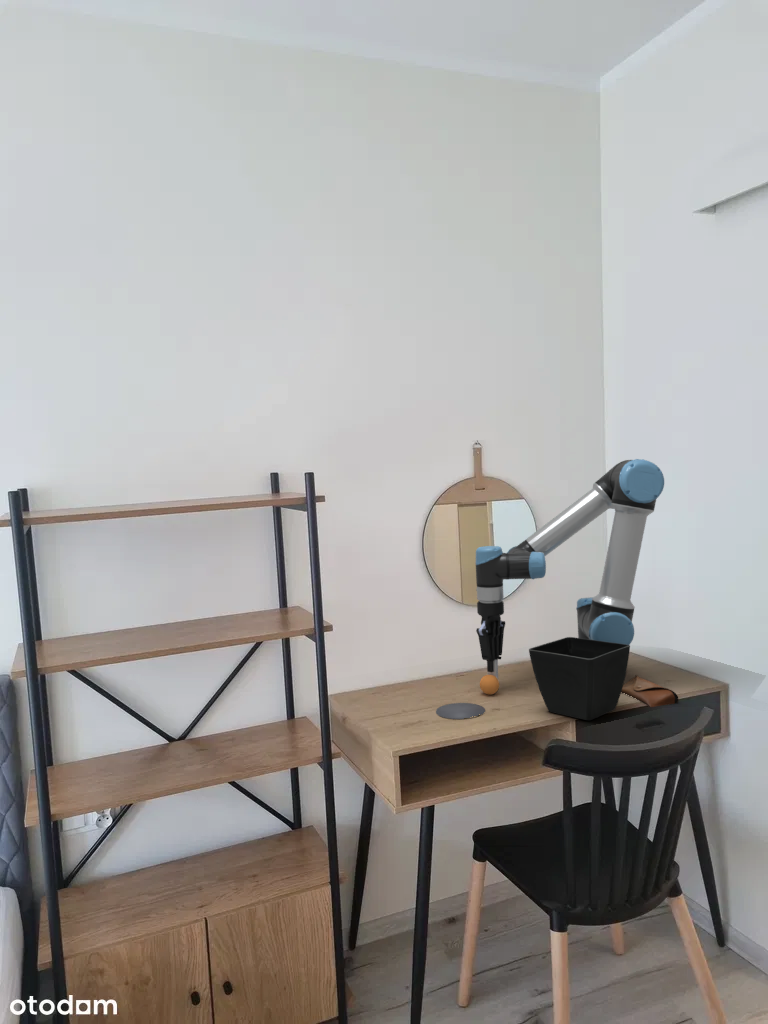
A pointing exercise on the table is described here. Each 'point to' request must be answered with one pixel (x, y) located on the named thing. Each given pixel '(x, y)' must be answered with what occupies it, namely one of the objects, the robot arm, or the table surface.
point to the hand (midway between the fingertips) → (493, 682)
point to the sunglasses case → (649, 692)
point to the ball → (489, 684)
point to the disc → (460, 710)
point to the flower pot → (580, 675)
